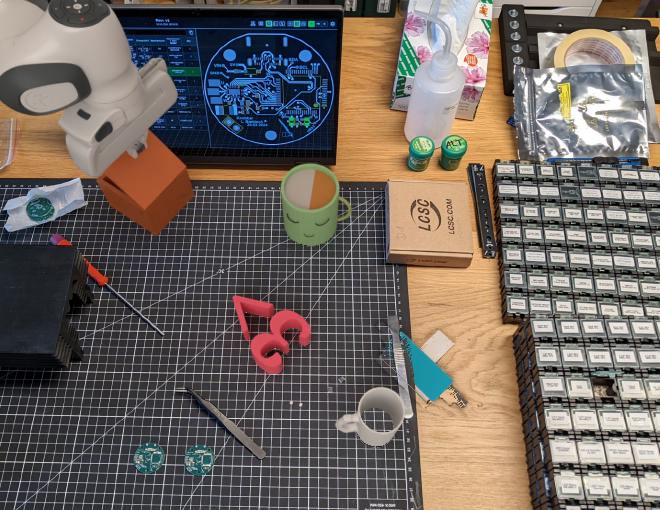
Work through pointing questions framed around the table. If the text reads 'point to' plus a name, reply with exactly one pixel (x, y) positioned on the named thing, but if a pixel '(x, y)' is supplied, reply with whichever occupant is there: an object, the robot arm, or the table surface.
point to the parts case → (158, 210)
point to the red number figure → (277, 326)
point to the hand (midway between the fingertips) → (138, 151)
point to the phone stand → (430, 367)
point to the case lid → (145, 171)
